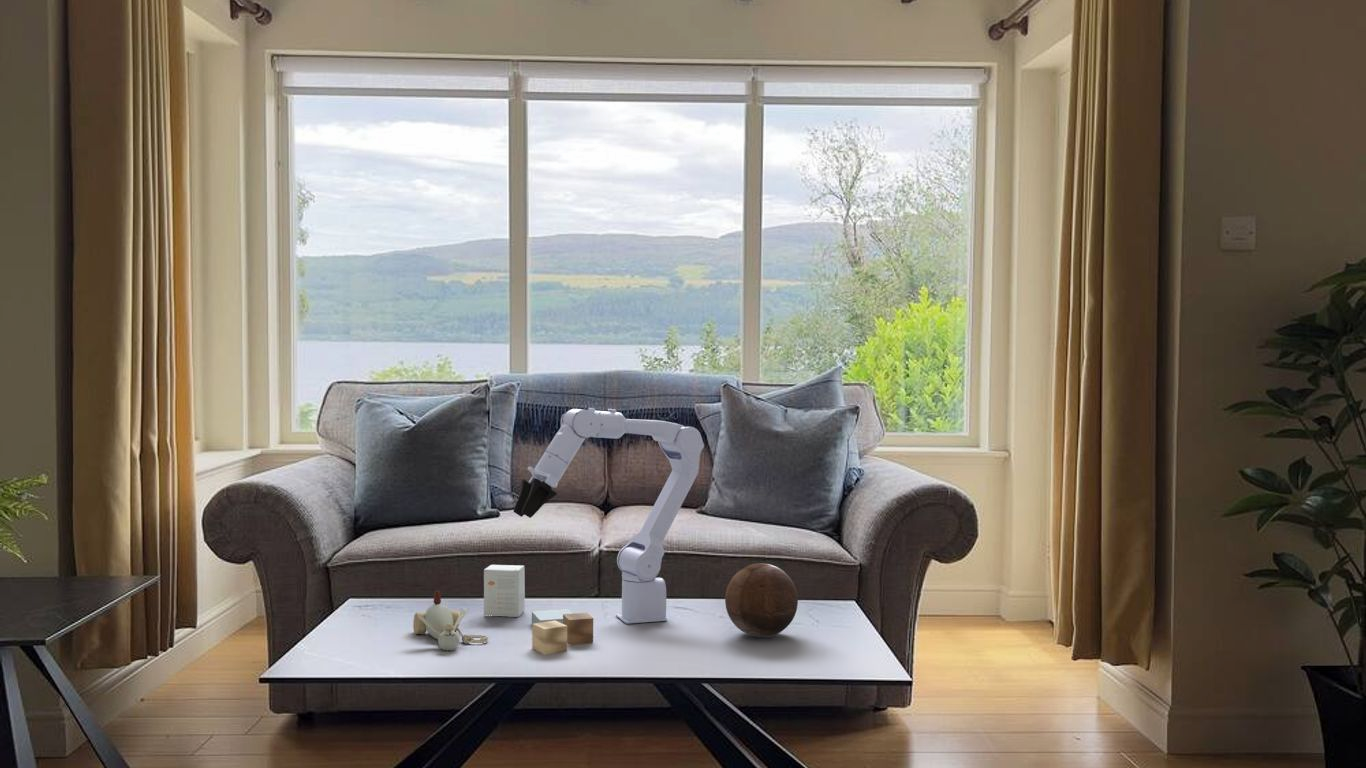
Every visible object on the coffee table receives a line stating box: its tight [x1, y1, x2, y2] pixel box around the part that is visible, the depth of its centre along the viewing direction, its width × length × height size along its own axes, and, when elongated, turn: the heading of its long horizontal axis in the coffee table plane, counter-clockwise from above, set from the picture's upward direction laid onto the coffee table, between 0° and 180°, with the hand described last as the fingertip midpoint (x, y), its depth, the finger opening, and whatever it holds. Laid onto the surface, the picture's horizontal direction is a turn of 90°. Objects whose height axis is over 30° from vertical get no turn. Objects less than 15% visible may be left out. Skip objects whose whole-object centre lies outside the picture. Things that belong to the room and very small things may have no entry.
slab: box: [531, 608, 573, 625], centre depth 224 cm, size 8×8×3 cm
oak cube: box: [531, 620, 568, 656], centre depth 207 cm, size 5×5×5 cm
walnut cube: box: [563, 612, 594, 645], centre depth 214 cm, size 5×5×5 cm
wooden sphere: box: [724, 562, 799, 638], centre depth 219 cm, size 15×15×15 cm
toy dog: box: [412, 590, 489, 652], centre depth 213 cm, size 12×19×9 cm, turn 44°
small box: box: [483, 564, 526, 618], centre depth 235 cm, size 8×6×10 cm
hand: (521, 514), depth 217 cm, fingers open, 7 cm apart
